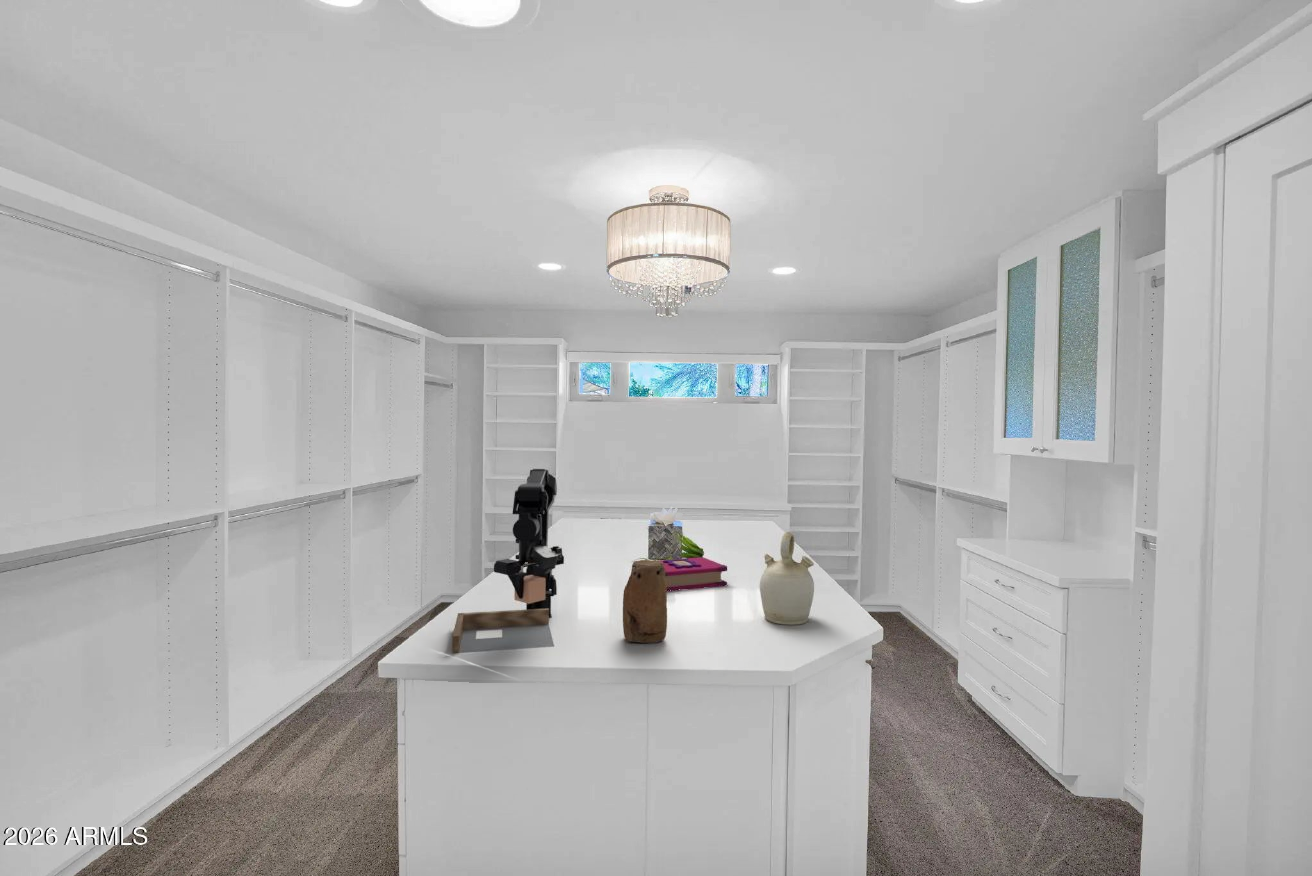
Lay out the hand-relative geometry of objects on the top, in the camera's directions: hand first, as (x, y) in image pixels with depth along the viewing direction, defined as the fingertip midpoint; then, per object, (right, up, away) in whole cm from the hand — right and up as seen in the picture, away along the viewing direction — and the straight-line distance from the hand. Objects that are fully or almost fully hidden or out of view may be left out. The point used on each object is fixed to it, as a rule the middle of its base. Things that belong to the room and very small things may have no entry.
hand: (529, 596), depth 164 cm
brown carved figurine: (+29, -12, +1) cm, 32 cm away
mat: (-7, -11, +1) cm, 13 cm away
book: (+41, -12, +65) cm, 77 cm away
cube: (0, -1, 0) cm, 1 cm away
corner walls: (-7, -11, +1) cm, 13 cm away
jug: (+70, -12, +21) cm, 74 cm away
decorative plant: (+38, -11, +100) cm, 107 cm away
